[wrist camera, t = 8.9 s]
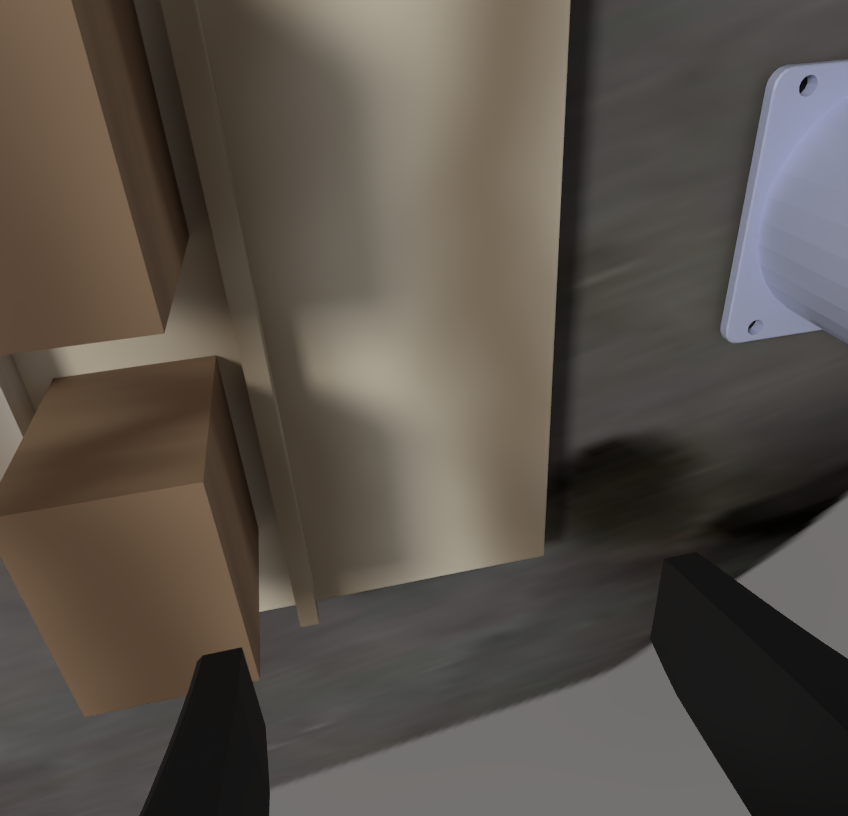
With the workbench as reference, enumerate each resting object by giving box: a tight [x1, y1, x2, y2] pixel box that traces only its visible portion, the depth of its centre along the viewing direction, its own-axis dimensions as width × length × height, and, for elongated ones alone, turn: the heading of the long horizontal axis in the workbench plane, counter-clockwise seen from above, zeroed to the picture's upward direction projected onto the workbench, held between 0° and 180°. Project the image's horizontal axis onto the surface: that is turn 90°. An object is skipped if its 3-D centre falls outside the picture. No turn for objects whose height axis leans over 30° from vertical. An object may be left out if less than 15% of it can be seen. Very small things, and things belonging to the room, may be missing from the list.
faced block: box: [0, 355, 260, 717], centre depth 17 cm, size 4×6×6 cm
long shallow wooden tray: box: [0, 0, 570, 627], centre depth 16 cm, size 15×28×2 cm, turn 4°
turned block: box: [0, 0, 189, 355], centre depth 12 cm, size 4×6×6 cm
